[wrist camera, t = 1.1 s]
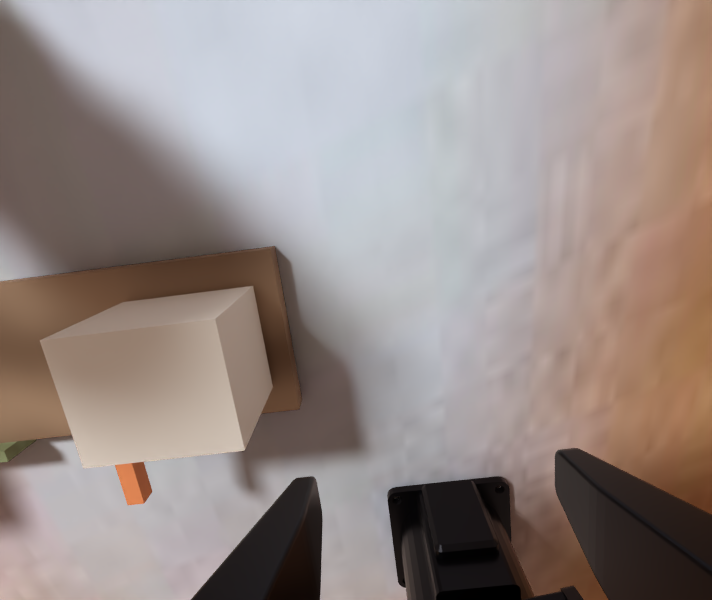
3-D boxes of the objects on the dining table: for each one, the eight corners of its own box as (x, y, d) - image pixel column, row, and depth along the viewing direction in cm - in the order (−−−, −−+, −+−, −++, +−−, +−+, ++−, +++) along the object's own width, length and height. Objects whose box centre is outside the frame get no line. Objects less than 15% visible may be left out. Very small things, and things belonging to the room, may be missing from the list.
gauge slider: (283, 439, 20) (259, 517, 15) (165, 452, 20) (106, 533, 16) (252, 285, 18) (215, 319, 13) (123, 302, 18) (39, 340, 14)
